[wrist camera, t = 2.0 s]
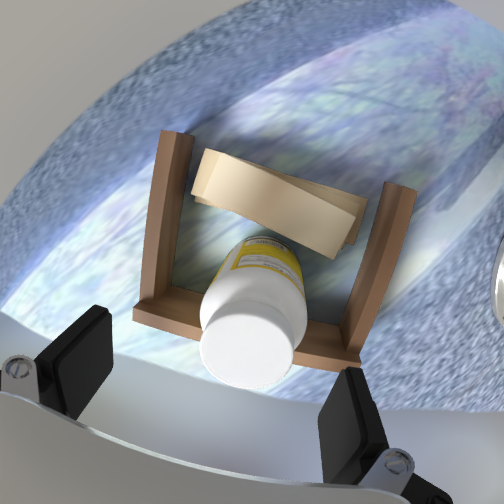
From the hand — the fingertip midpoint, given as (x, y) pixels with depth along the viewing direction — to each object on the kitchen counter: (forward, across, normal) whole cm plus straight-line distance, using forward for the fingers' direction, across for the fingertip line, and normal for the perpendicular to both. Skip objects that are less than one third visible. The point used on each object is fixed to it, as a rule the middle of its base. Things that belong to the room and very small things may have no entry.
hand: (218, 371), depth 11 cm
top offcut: (+9, -1, -5) cm, 11 cm away
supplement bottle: (+11, -1, 0) cm, 11 cm away
